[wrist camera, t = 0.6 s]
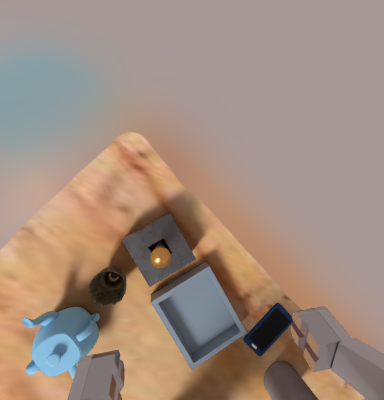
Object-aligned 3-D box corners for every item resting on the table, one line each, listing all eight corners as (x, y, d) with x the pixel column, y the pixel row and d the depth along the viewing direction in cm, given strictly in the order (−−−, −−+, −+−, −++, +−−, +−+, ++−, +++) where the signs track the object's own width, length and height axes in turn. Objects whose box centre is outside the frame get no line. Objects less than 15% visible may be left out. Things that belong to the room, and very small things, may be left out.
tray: (240, 323, 59) (246, 332, 55) (189, 357, 57) (191, 370, 53) (205, 261, 57) (209, 266, 53) (151, 294, 55) (150, 302, 51)
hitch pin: (170, 246, 56) (174, 261, 44) (156, 254, 55) (156, 272, 43) (162, 233, 55) (164, 244, 43) (148, 241, 55) (146, 254, 43)
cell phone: (242, 338, 60) (243, 340, 59) (276, 301, 61) (278, 302, 61) (259, 355, 61) (260, 357, 60) (293, 318, 62) (294, 319, 62)
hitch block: (191, 252, 57) (195, 258, 51) (150, 276, 55) (149, 286, 49) (168, 211, 55) (170, 213, 49) (125, 235, 54) (122, 241, 48)
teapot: (92, 355, 54) (79, 396, 43) (29, 346, 51) (-3, 389, 40) (108, 305, 54) (98, 333, 43) (46, 293, 51) (19, 321, 40)
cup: (129, 258, 54) (124, 269, 46) (131, 287, 54) (127, 303, 47) (97, 261, 53) (87, 273, 45) (99, 291, 53) (89, 308, 45)
